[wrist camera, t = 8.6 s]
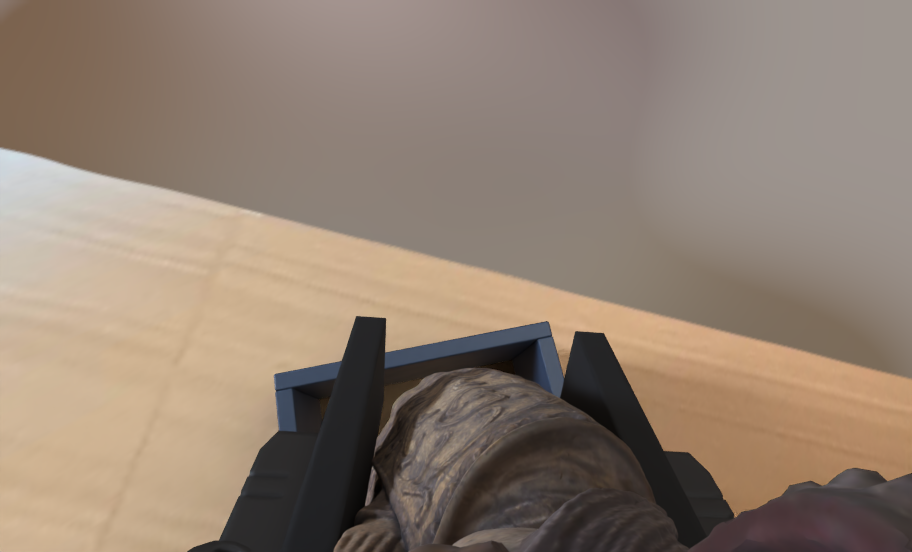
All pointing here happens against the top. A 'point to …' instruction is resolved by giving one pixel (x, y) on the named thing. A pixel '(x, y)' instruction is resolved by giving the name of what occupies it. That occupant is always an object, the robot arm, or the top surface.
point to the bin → (425, 369)
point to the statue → (574, 485)
